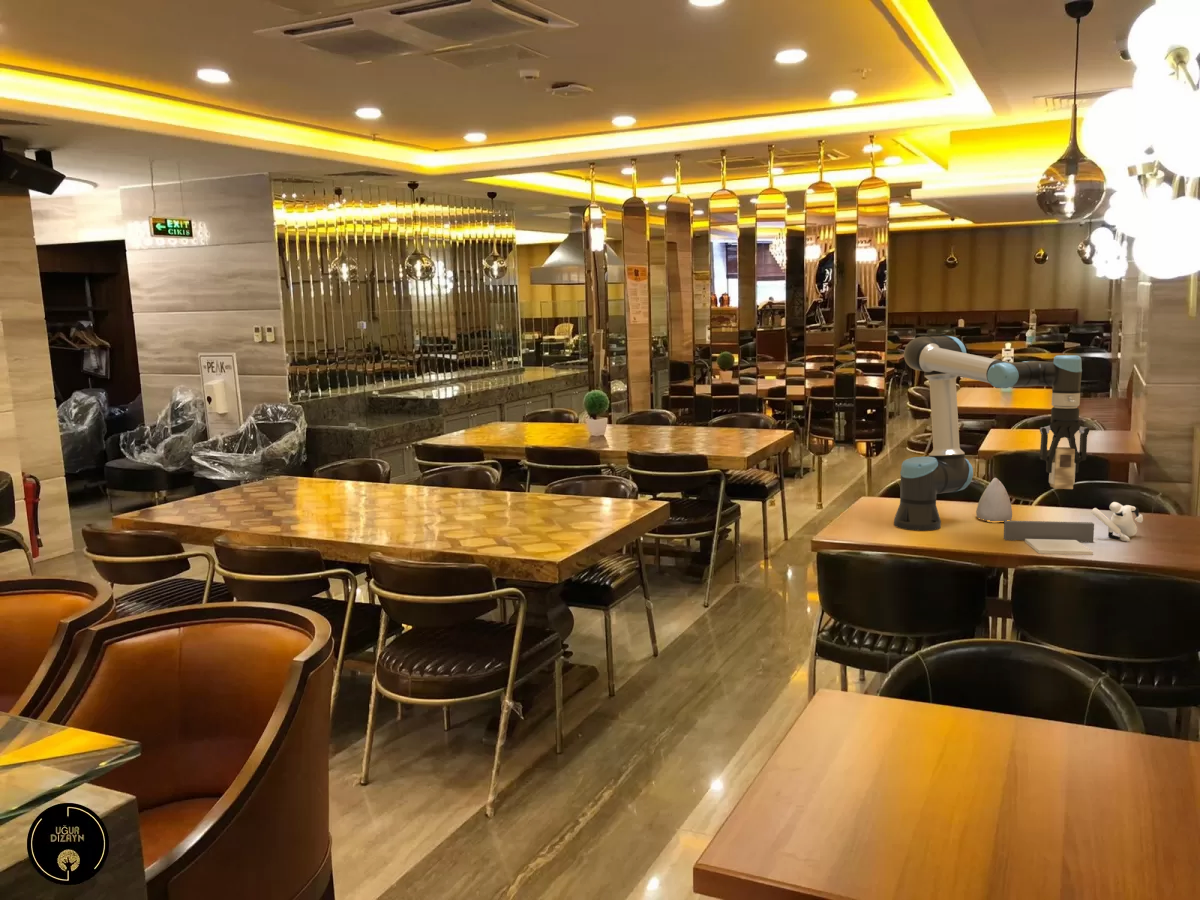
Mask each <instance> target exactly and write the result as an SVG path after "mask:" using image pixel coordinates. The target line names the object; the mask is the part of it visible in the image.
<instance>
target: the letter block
mask: <svg viewBox="0 0 1200 900" xmlns="http://www.w3.org/2000/svg"><path fill="white" fill-rule="evenodd" d="M1074 459H1075V449H1072V448H1070V446H1069V447H1068V446H1063V447H1061V446H1060V447H1059V446H1057V449H1056V452H1055V455H1054V458H1053V461H1052V462H1054V463H1055V476H1054V484H1051V483H1049V486H1050V488H1053V489H1055V490H1057V489H1058V490H1063V489H1064V490H1073V489H1074V484H1073V478H1074Z"/></svg>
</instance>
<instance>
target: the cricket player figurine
mask: <svg viewBox="0 0 1200 900" xmlns="http://www.w3.org/2000/svg"><path fill="white" fill-rule="evenodd" d="M1109 510H1111V512H1112V515H1111V517H1110V518H1109V517H1107V516H1106V515H1105V514H1104V513H1103V512H1102V511H1101V510H1099V509H1098V508H1097V507H1094V508H1092V510H1090V511H1091V513H1092V515H1093V516H1095V518H1097V519H1098V520H1100V521H1101V522H1102V523H1103V524H1104V525H1105V526H1106V527H1107V528H1108V529H1107V532H1108V533H1107V534H1108V535H1107V536H1108V538H1110V539H1115V540H1120V541H1123V542H1131V539H1130V538H1131V537H1133V536H1135V535H1136V534H1137V532H1138V526H1137V524H1136V522H1138V523H1140V524H1141V523H1143V521H1144V518H1143V514H1141V513H1139V512H1140V510H1139V508H1138V507H1137V506H1134V505H1129V504H1125V505H1123V504H1121V503H1119V502H1117V501H1113V502H1111V503H1110V504H1109ZM1132 512H1134V514H1135V516H1136V517H1135V518H1133V517H1134V516H1133V513H1132ZM1135 521H1136V522H1135ZM1114 533H1115V535H1114ZM1116 534H1117V535H1116ZM1118 534H1119V536H1118Z"/></svg>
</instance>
